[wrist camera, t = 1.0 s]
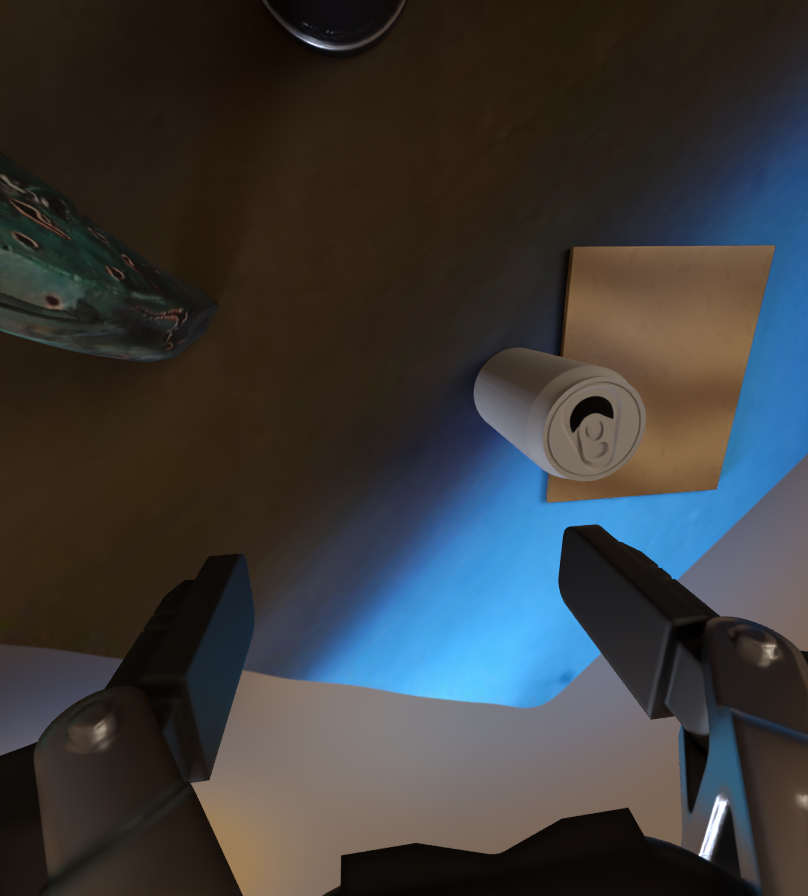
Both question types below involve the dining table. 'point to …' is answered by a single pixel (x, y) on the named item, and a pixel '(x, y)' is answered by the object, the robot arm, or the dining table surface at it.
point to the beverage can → (561, 412)
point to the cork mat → (666, 353)
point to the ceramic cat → (86, 281)
